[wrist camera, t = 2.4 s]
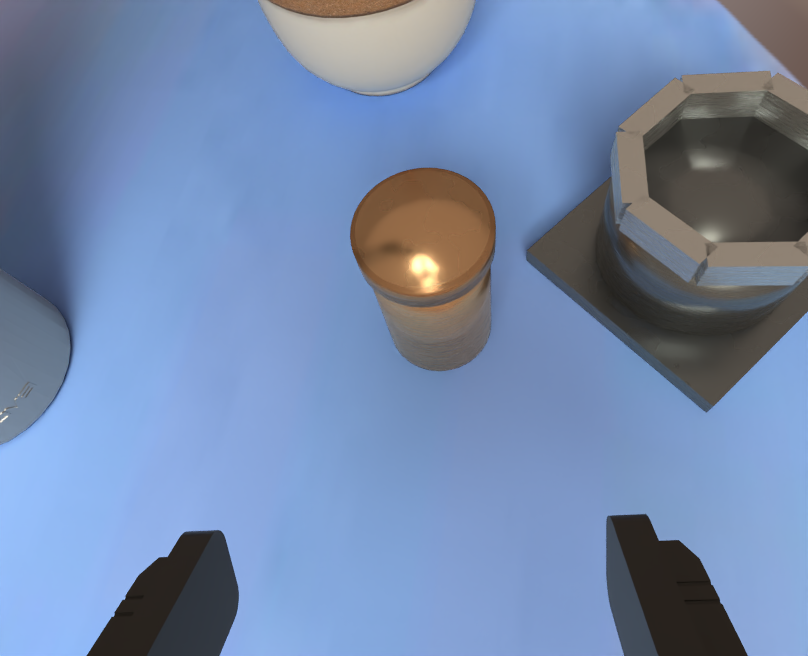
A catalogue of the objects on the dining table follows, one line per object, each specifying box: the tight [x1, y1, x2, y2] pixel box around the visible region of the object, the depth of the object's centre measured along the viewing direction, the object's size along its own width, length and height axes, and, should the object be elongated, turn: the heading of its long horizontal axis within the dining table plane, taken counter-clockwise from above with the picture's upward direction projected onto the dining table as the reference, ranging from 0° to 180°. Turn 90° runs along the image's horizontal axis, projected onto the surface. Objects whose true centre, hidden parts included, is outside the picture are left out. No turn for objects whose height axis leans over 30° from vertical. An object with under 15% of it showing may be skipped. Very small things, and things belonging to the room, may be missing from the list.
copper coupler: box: [350, 168, 496, 371], centre depth 27 cm, size 5×5×9 cm
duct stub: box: [526, 71, 808, 412], centre depth 28 cm, size 11×11×8 cm
